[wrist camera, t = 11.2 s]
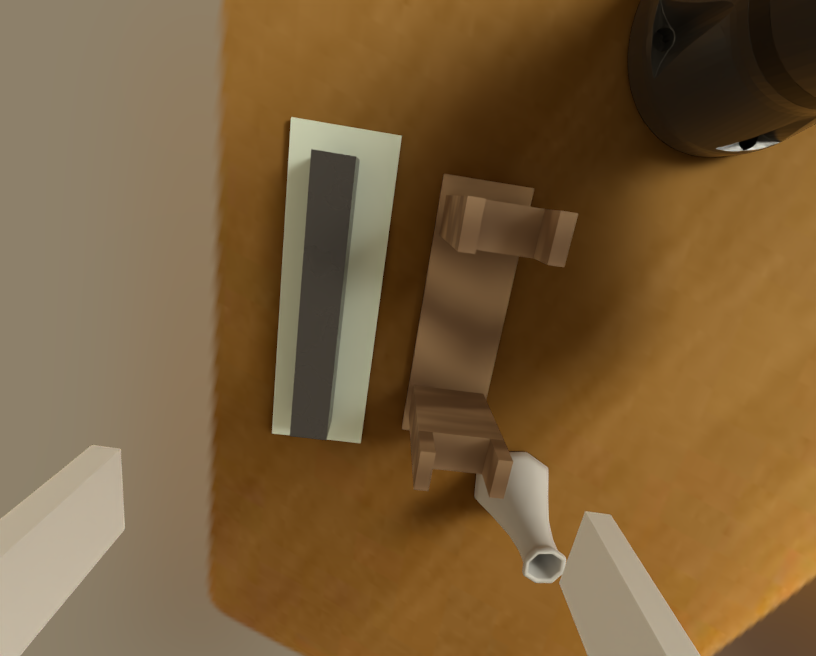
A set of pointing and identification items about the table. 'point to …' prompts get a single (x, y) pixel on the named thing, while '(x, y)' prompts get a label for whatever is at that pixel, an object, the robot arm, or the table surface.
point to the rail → (323, 290)
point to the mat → (363, 267)
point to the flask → (526, 517)
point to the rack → (471, 323)
